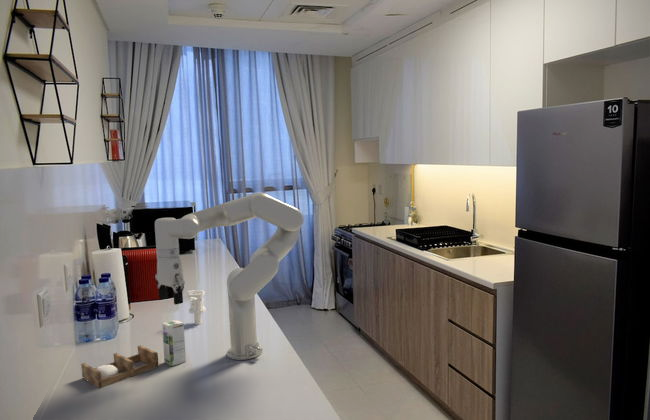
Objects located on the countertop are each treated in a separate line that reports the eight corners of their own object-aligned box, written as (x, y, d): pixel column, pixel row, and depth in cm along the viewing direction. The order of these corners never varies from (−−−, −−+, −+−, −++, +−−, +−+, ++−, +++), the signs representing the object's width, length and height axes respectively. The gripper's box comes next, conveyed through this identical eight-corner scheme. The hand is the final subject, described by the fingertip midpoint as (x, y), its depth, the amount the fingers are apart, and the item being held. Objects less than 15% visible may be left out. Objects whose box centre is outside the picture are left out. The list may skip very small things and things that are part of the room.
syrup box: (163, 362, 182) (161, 322, 181) (178, 357, 186) (176, 318, 185) (171, 366, 178) (168, 326, 177) (186, 361, 182) (184, 322, 181)
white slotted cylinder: (188, 322, 226) (186, 289, 224) (204, 319, 229) (202, 287, 228) (192, 327, 220) (189, 293, 218) (208, 324, 223) (206, 290, 221)
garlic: (90, 378, 172) (89, 367, 171) (108, 370, 177) (107, 360, 177) (104, 383, 167) (103, 372, 167) (122, 375, 173) (121, 365, 172)
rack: (158, 366, 179) (157, 352, 178) (98, 388, 163) (97, 373, 163) (141, 358, 187) (140, 345, 186) (82, 378, 171) (81, 363, 171)
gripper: (191, 254, 175) (194, 303, 177) (164, 249, 187) (167, 295, 189) (171, 257, 170) (174, 308, 172) (145, 252, 181) (148, 299, 183)
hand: (170, 301), depth 180 cm, fingers open, 9 cm apart
